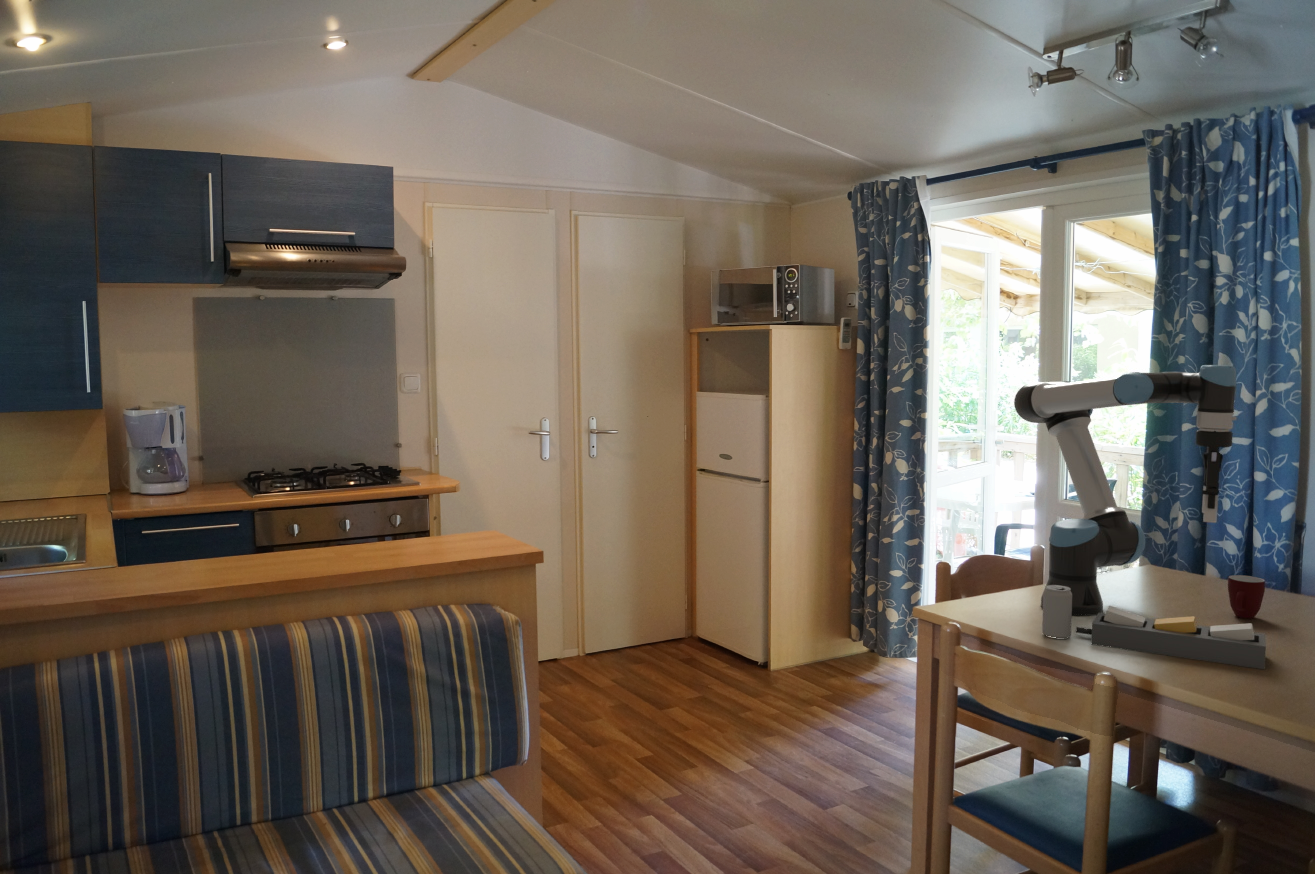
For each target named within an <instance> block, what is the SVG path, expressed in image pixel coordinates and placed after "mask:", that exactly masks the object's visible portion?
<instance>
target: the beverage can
mask: <svg viewBox="0 0 1315 874" xmlns="http://www.w3.org/2000/svg"><path fill="white" fill-rule="evenodd" d="M1044 589H1045V590H1044ZM1044 589H1043V591H1042V594H1043V607H1042V624H1041V625H1042V628H1041V633H1042V634H1043V635H1047V636H1051V637H1056V638H1067V637H1068V638H1069V637H1071V636H1072V616H1073V615H1072V593H1071V591H1070V590H1071V589H1070V588H1069V587H1066V586H1060V585H1048V586H1046V585H1044ZM1068 638H1067V639H1068Z"/></svg>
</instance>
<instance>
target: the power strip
mask: <svg viewBox="0 0 1315 874" xmlns="http://www.w3.org/2000/svg"><path fill="white" fill-rule="evenodd" d="M1105 614H1106V612H1102V613H1099V612H1098V614H1096V615H1095V618H1093V621H1092V622H1091V628H1090V627H1089V628H1087V627H1081V626H1076V630H1075V632H1076V634H1077V633H1078V634H1084V635H1090V636H1091V639H1090V641H1091V643H1092V644H1091V643H1090V644H1091V645H1093V644H1097V645H1096V646H1099V645H1103V646H1102V647H1106V646H1109V647H1108V648H1113V647H1114V648H1113V649H1120V648H1122V649H1121V650H1127V649H1128V651H1135V650H1136V651H1135V652H1140V653H1141V652H1142V653H1149V654H1154V655H1155V654H1156V655H1162V656H1168V657H1170V656H1171V657H1176V658H1177V657H1178V658H1182V659H1183V658H1184V659H1190V660H1197V661H1205V662H1211V663H1216V664H1217V663H1218V664H1224V665H1233V666H1239V667H1245V668H1253V669H1259V670H1265V669H1266V653H1267V652H1266V650H1267V647H1266V646H1267V644H1266V643H1267V642H1266V641H1267V640H1266V633H1264V632H1255V631H1254V640H1235V639H1227V638H1220V637H1212V636H1211V634H1210V628H1211V626H1207V625H1200V624H1199V625H1198V624H1197V629H1196V632H1189V633H1182V632H1174V631H1167V630H1159V629H1155V626H1154V623H1155V620H1156V619H1152V618H1146V617H1145V622H1144V625H1143V627H1137V626H1129V625H1122V624H1114V623H1111V622H1108V621H1105V620H1104V617H1105ZM1110 646H1111V647H1110Z"/></svg>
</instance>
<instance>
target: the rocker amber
mask: <svg viewBox="0 0 1315 874" xmlns="http://www.w3.org/2000/svg"><path fill="white" fill-rule="evenodd" d="M1154 620H1155V623H1154V626H1155V629H1159V630H1167V631H1174V632H1182V633H1189V632H1196V629H1197V625H1198V624H1197V621H1196V617H1195V616H1193V615H1191V616H1179V617H1177V616H1176V617H1166V618H1156V619H1154Z"/></svg>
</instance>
